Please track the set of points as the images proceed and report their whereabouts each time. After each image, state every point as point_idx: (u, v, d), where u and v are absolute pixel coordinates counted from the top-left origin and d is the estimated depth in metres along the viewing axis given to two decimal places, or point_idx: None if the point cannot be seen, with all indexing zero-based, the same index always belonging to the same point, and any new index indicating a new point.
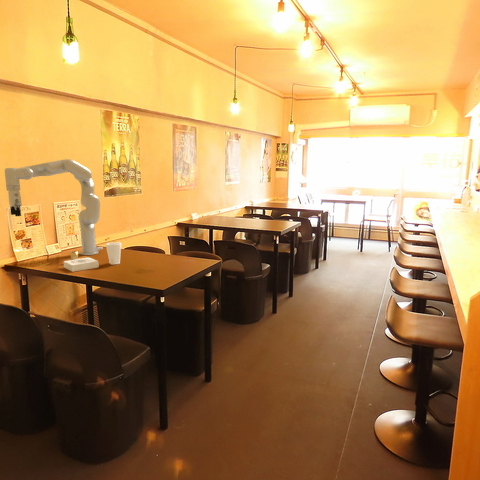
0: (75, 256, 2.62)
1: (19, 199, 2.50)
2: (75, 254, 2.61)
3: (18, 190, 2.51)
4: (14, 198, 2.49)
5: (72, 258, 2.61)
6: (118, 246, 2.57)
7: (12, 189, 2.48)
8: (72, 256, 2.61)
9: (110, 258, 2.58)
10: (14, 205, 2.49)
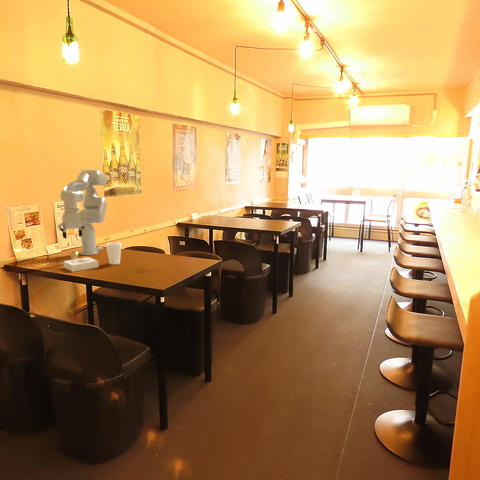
0: (75, 256, 2.62)
1: None
2: (75, 254, 2.61)
3: None
4: None
5: (72, 258, 2.61)
6: (118, 246, 2.57)
7: (77, 211, 2.59)
8: (72, 256, 2.61)
9: (110, 258, 2.58)
10: (80, 226, 2.62)
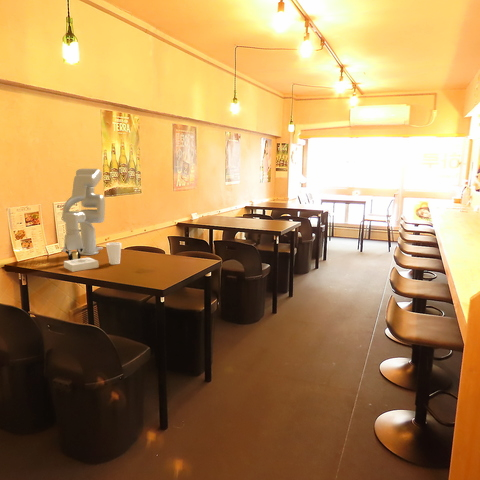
0: (75, 256, 2.62)
1: None
2: (75, 254, 2.61)
3: None
4: None
5: (72, 258, 2.61)
6: (118, 246, 2.57)
7: (78, 232, 2.62)
8: (72, 256, 2.61)
9: (110, 258, 2.58)
10: (80, 249, 2.64)
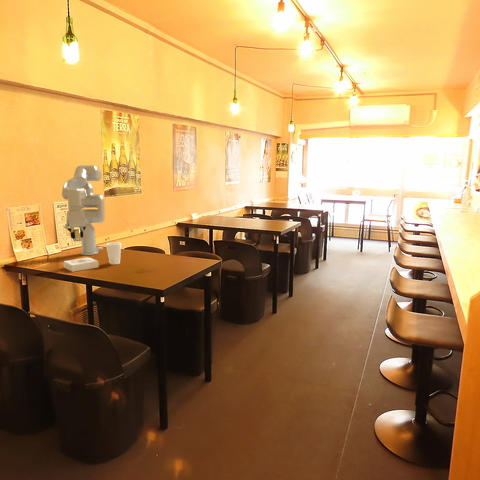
0: (78, 234, 2.49)
1: None
2: (78, 232, 2.49)
3: None
4: None
5: (74, 236, 2.49)
6: (118, 246, 2.57)
7: (81, 209, 2.50)
8: (74, 234, 2.49)
9: (110, 258, 2.58)
10: (83, 226, 2.51)
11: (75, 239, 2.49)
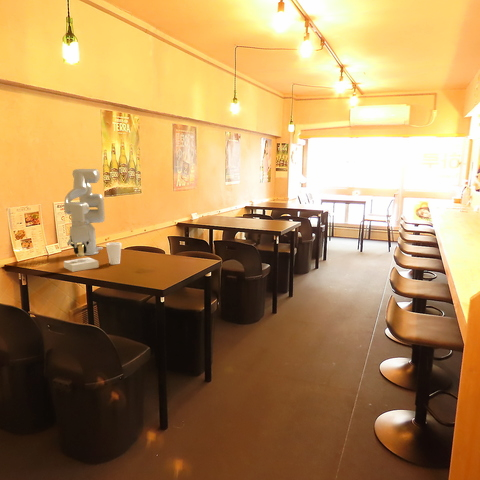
0: (81, 249, 2.47)
1: None
2: (81, 247, 2.47)
3: None
4: None
5: (78, 251, 2.47)
6: (118, 246, 2.57)
7: (85, 224, 2.48)
8: (78, 249, 2.47)
9: (110, 258, 2.58)
10: (86, 242, 2.50)
11: (78, 254, 2.47)
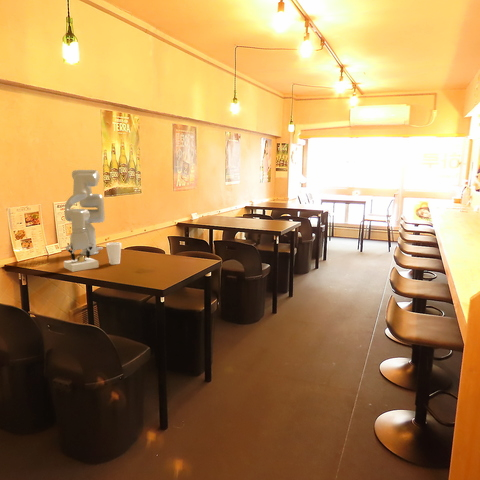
0: (82, 261, 2.49)
1: None
2: (82, 259, 2.49)
3: None
4: None
5: None
6: (118, 246, 2.57)
7: (85, 231, 2.48)
8: (79, 261, 2.48)
9: (110, 258, 2.58)
10: (88, 247, 2.51)
11: None
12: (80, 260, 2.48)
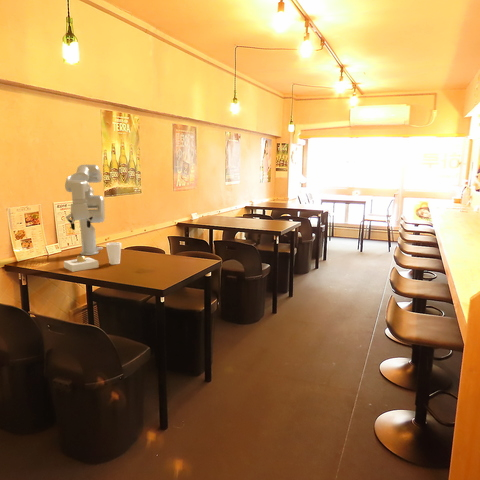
0: (82, 261, 2.49)
1: None
2: (82, 259, 2.49)
3: None
4: None
5: None
6: (118, 246, 2.57)
7: (85, 202, 2.54)
8: (79, 261, 2.48)
9: (110, 258, 2.58)
10: (88, 217, 2.57)
11: None
12: (80, 260, 2.48)
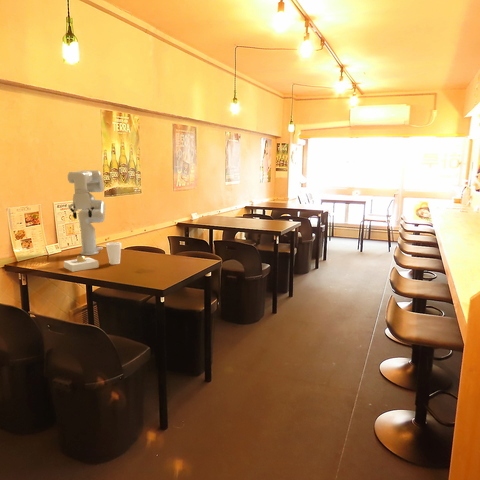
0: (82, 261, 2.49)
1: None
2: (82, 259, 2.49)
3: None
4: None
5: None
6: (118, 246, 2.57)
7: (87, 192, 2.64)
8: (79, 261, 2.48)
9: (110, 258, 2.58)
10: (90, 207, 2.67)
11: None
12: (80, 260, 2.48)
